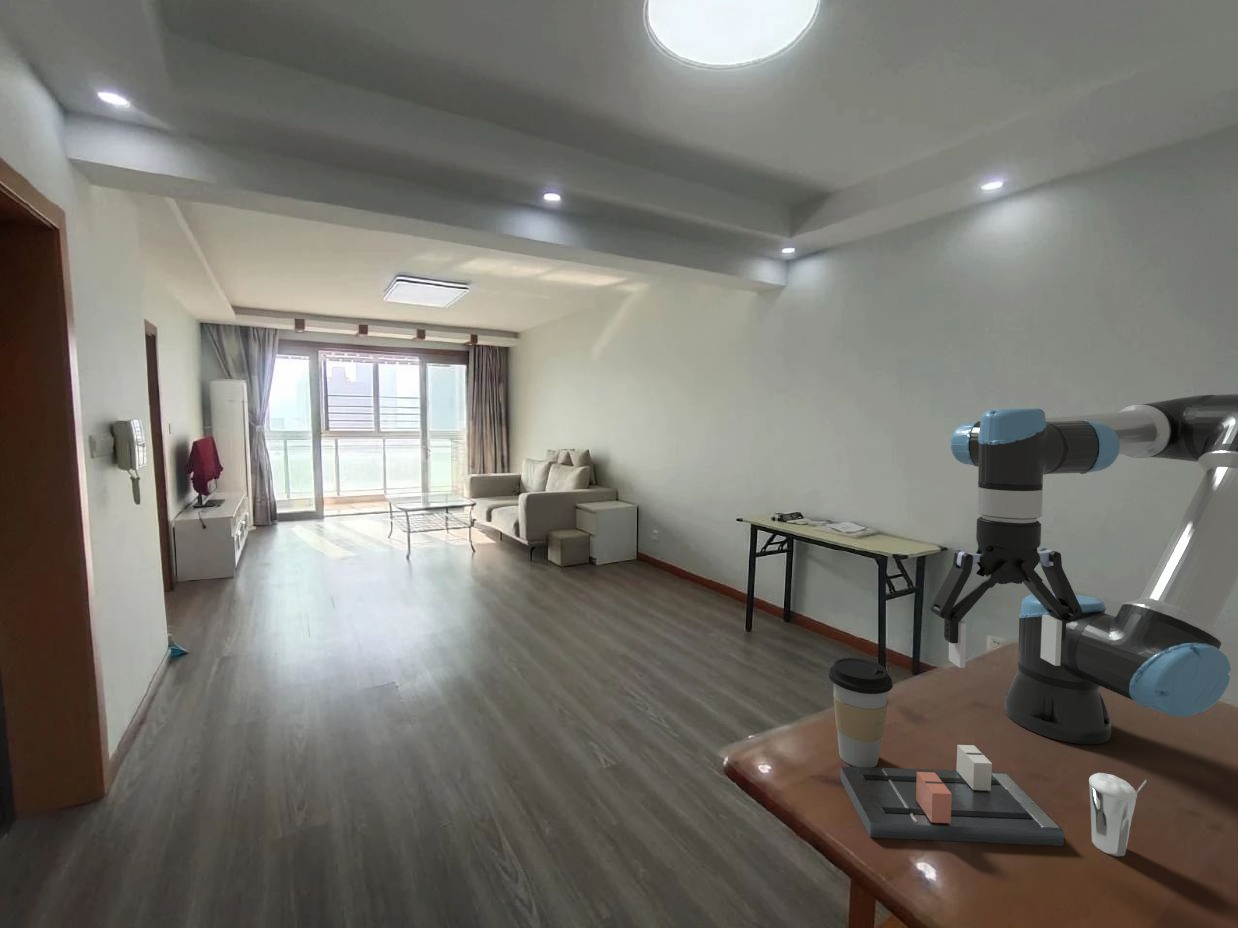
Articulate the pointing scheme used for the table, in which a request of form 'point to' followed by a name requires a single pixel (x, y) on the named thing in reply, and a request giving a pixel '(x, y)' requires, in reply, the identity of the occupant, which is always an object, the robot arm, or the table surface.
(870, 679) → the coffee cup
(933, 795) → the fader
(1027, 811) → the console
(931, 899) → the table surface
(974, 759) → the fader
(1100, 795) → the milkshake
